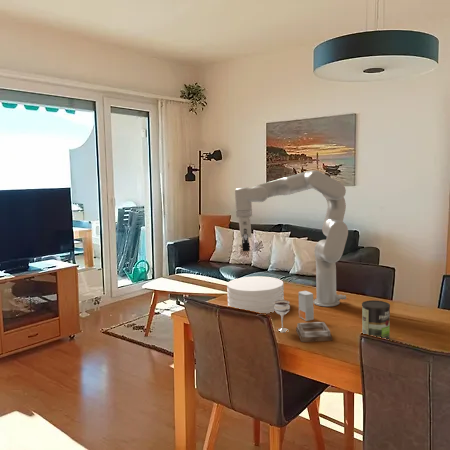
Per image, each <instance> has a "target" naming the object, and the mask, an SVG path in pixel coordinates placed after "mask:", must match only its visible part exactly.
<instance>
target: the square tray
mask: <svg viewBox="0 0 450 450" xmlns="http://www.w3.org/2000/svg"><path fill="white" fill-rule="evenodd" d="M296 326H297V327H296V328H295V330H296V331H295V332H296V334H297V336H298V337H299V339H300V342H301V343H305V342H307V343H308V342H310V343H311V342H326V341H327V342H328V341H333V336H332V334H331V330H330V329H329V327H328V326H327V324H326V323H325V321H313V322H297V325H296Z"/></svg>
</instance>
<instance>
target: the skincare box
mask: <svg viewBox="0 0 450 450" xmlns="http://www.w3.org/2000/svg"><path fill="white" fill-rule="evenodd" d="M314 316H315V313H314V293H313V292H311V291H308V290H302V291H301V290H300V291H298V318H300V319H302V320H303V321H305V322H308V321H312V320H313V321H314V320H315V318H314Z"/></svg>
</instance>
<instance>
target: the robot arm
mask: <svg viewBox="0 0 450 450" xmlns="http://www.w3.org/2000/svg"><path fill="white" fill-rule="evenodd" d="M311 189H313V190H314V191H317V192H318V193H320V194H321V195H322V196H323V197H324V198H325V199H326V202H327V209H326V214H325V217H324V221H323V223H322V233H323V235H324V236H325V237H326V239H321V240H319V241H317V242H316V244H315V246H314V251H313V252H314V258H315V274H316V275H315V277H316V280H315V281H316V283H315V284H316V285H315V286H316V290H315V291H316V298H313V305H316V306H319V307H328V308H329V307H336V306H338V305H340V300H347V295H345V294H344V295H343V294H338V293H337V267H336V263H337V262H339V260H340V259H341V258H342V256H343V254H344V250H345V247H346V244H347V239H348V236H349V229H348V225H347V224H346V223H345V222H344V219H345V214H346V205H347V204H346V200H345V196H346V191H347V189H346V187H345V185H344V184H343V183H342V182H340V181H338V180H336V179H335V178H332V177H331V176H329V175H328V174H325V173H324V172H322V171H319V170H306V171H304V172H303V171H302V172H299V173H297V174H292V175H289V176H286V177H285V176H284V177H281V178H278V179H275V180H272V181H267V182H264V183H261V184H257V185H254V186H252V187H249V186H248V187H247V186H246V187H237V188H235V190H234V196H235V197H234V199H235V217H236V218H238V221H239V222H238V224H239V225H238V226H239V233H240V237H241V238H242V239H241V247H242V251H243V252H250V249H251V248H250V242H249V241H250V240H249V238H252V226H251V225H252V222H251V218H252V217H253V208H252V204H253V202H254V203H264V202H266V200H268V198H272V197H276V196H278V197H279V196H290V195H294V194H297V193H300V192H303V191H306V190H307V191H308V190H311Z"/></svg>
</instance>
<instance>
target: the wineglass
mask: <svg viewBox="0 0 450 450" xmlns="http://www.w3.org/2000/svg"><path fill="white" fill-rule="evenodd" d="M290 303H291V302H290V301H289V300H286V299H284V300H278V301H275V302H274V304H275V305H274V310H275V312H274V313H276V314H277V315H280V319H281V320H280V321H281V327H280V328H277V329H278V331H280V332H279V333H287V332H288V331H289V329H288V328H285V327H284V316H285V315H286V314H287V313H289V312H290V310H291V305H290ZM287 330H288V331H287ZM278 331H277V332H278ZM286 331H287V332H286Z"/></svg>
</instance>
